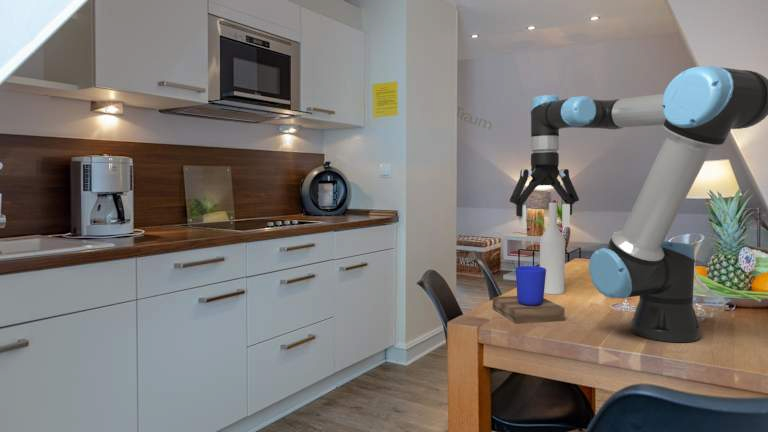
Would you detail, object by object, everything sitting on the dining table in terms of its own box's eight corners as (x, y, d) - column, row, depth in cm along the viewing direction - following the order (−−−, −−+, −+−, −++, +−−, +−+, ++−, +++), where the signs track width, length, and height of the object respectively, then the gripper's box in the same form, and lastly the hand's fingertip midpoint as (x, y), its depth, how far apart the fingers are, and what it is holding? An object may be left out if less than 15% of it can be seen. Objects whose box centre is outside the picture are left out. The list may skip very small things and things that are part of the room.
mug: (540, 297, 158) (540, 263, 157) (548, 307, 146) (548, 271, 145) (511, 297, 159) (511, 263, 158) (517, 307, 147) (517, 270, 146)
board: (564, 320, 146) (564, 307, 146) (515, 323, 144) (515, 310, 143) (537, 306, 162) (537, 295, 162) (492, 309, 159) (492, 297, 159)
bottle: (535, 289, 186) (536, 202, 183) (558, 289, 186) (559, 202, 184) (544, 295, 178) (546, 203, 175) (568, 294, 178) (570, 203, 176)
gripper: (576, 153, 158) (576, 225, 160) (497, 152, 153) (497, 227, 154) (592, 151, 151) (591, 227, 152) (510, 151, 145) (509, 230, 147)
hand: (544, 227), depth 153 cm, fingers open, 13 cm apart
